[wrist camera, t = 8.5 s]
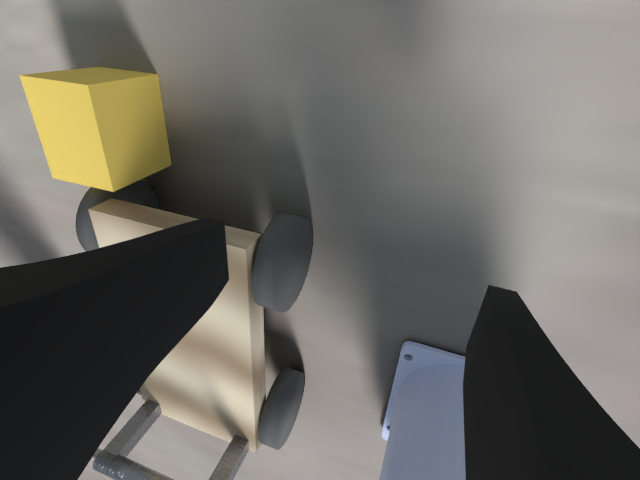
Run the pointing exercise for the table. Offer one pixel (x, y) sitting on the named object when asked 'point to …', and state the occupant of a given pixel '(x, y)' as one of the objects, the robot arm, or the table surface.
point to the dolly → (211, 335)
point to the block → (99, 125)
